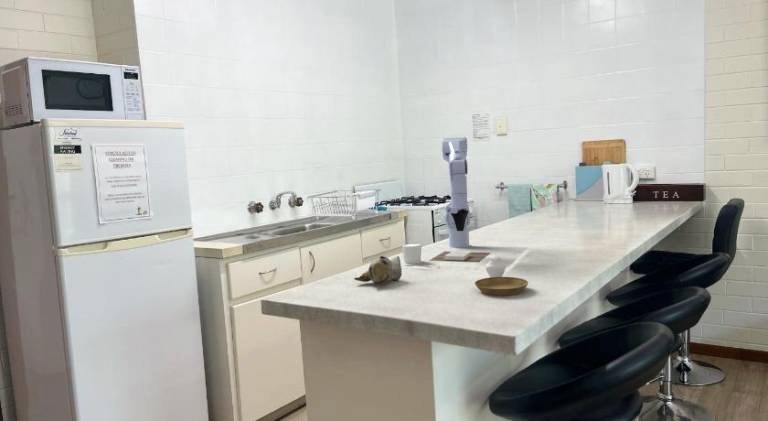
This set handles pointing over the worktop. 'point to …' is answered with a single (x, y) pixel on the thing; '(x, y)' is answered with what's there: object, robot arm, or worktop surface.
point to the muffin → (495, 267)
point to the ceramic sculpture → (382, 271)
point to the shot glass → (412, 253)
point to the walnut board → (473, 258)
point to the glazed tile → (457, 256)
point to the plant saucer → (501, 285)
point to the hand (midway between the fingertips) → (460, 230)
